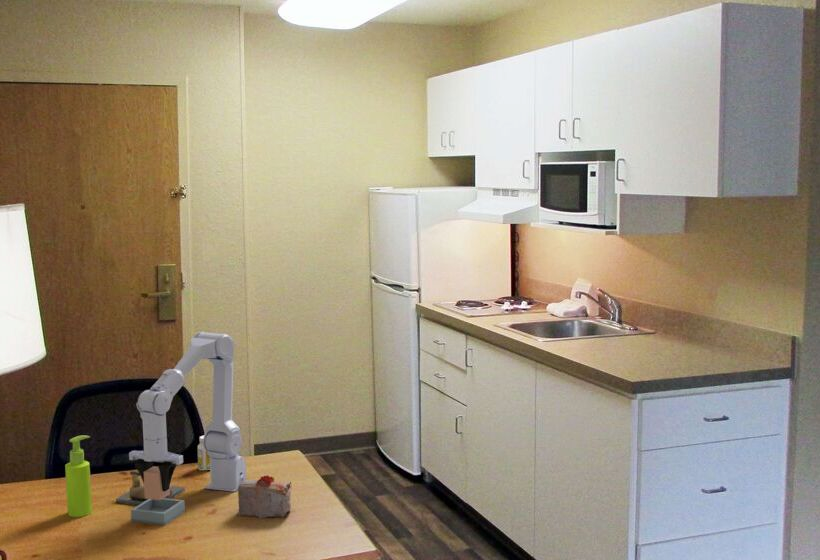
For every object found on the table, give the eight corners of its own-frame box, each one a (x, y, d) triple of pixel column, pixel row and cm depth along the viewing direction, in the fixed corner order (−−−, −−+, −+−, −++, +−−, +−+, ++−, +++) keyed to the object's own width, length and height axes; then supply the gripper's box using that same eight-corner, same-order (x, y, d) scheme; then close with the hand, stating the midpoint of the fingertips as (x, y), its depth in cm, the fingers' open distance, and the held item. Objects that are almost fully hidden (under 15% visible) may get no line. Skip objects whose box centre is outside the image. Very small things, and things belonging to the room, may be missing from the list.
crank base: (184, 490, 248) (184, 486, 248) (158, 507, 236) (158, 503, 236) (144, 486, 252) (143, 482, 252) (116, 502, 240) (115, 498, 240)
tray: (185, 511, 233) (184, 500, 233) (164, 525, 224) (164, 513, 223) (152, 507, 236) (152, 496, 235) (131, 521, 227) (130, 509, 226)
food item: (295, 509, 234) (294, 472, 233) (287, 520, 226) (286, 483, 225) (244, 507, 236) (243, 470, 235) (235, 518, 228) (234, 481, 227)
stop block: (170, 494, 231) (169, 467, 230) (160, 500, 226) (159, 473, 225) (154, 492, 232) (153, 466, 231) (144, 498, 228) (143, 471, 227)
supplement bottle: (219, 465, 269) (218, 434, 268) (213, 471, 264) (212, 439, 263) (201, 465, 270) (200, 434, 269) (195, 471, 264) (194, 439, 263)
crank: (179, 486, 247) (178, 468, 247) (157, 500, 237) (156, 481, 236) (142, 483, 251) (141, 465, 250) (119, 496, 240) (118, 477, 240)
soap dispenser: (99, 509, 235) (96, 435, 233) (80, 518, 229) (75, 442, 226) (82, 506, 237) (79, 432, 235) (62, 515, 231) (58, 439, 229)
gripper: (121, 439, 226) (123, 491, 227) (171, 444, 221) (173, 497, 223) (137, 431, 232) (139, 482, 234) (186, 436, 228) (188, 487, 230)
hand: (157, 489), depth 229 cm, fingers closed on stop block, 4 cm apart
